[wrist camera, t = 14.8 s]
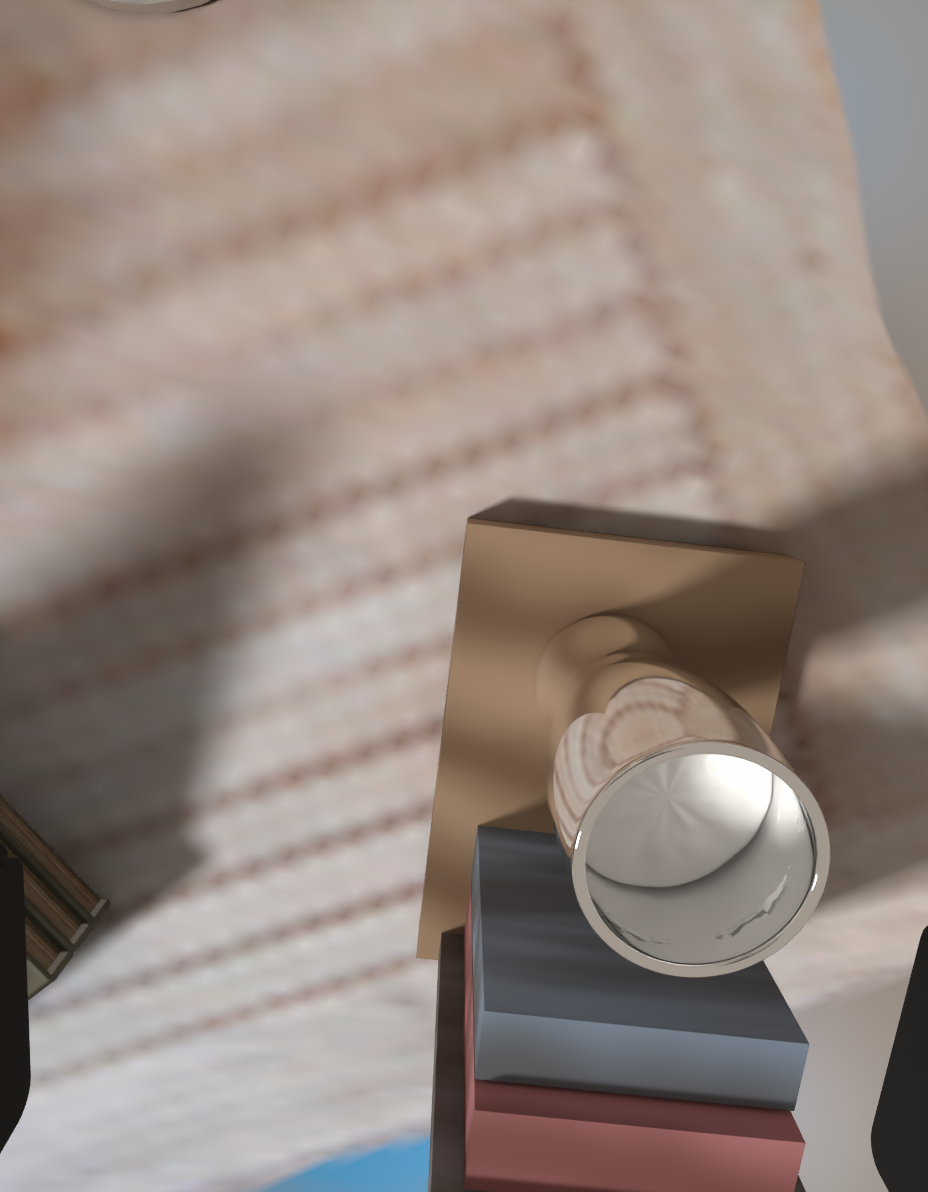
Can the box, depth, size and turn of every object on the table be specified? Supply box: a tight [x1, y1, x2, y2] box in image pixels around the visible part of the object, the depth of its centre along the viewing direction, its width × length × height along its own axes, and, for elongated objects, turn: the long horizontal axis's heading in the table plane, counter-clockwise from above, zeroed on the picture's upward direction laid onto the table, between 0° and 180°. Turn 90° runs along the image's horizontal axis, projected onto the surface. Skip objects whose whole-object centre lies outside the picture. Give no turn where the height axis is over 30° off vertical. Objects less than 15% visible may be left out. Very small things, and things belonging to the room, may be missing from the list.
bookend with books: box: [416, 518, 809, 1192], centre depth 31 cm, size 20×14×16 cm
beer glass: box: [535, 615, 830, 978], centre depth 29 cm, size 7×7×15 cm
